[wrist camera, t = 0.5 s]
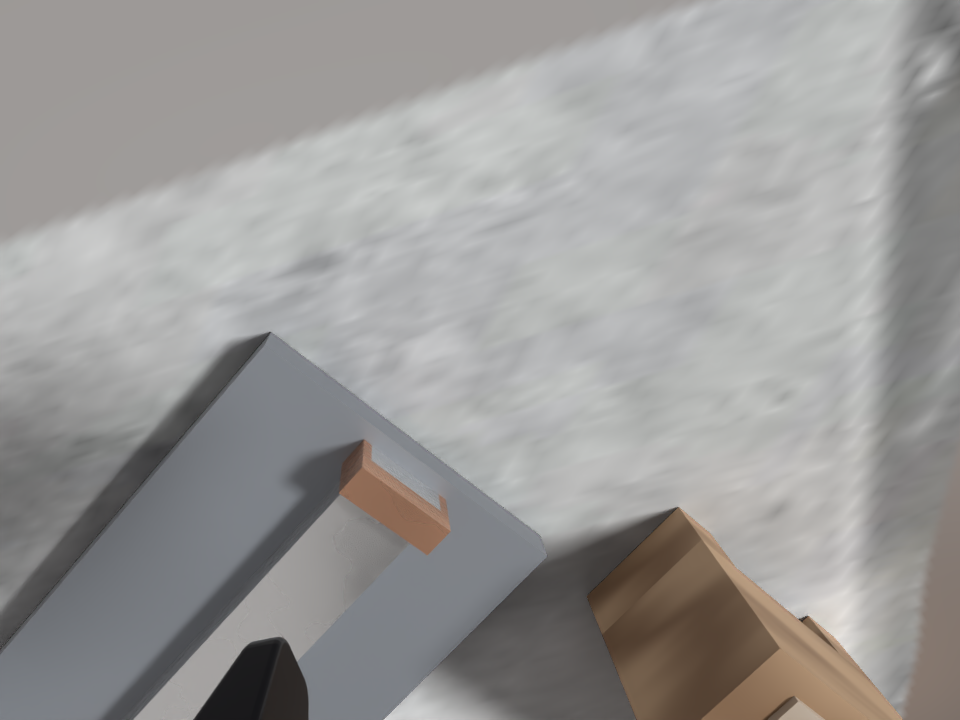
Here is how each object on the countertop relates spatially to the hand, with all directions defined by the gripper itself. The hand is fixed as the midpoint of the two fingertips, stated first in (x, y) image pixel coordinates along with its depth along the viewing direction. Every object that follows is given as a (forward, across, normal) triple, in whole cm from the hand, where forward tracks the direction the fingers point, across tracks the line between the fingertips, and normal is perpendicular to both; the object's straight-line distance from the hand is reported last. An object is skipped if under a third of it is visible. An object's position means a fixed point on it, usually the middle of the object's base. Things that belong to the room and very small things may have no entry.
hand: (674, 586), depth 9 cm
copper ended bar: (+11, +11, +11) cm, 19 cm away
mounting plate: (+12, +11, +12) cm, 20 cm away
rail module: (+12, -5, +16) cm, 21 cm away
